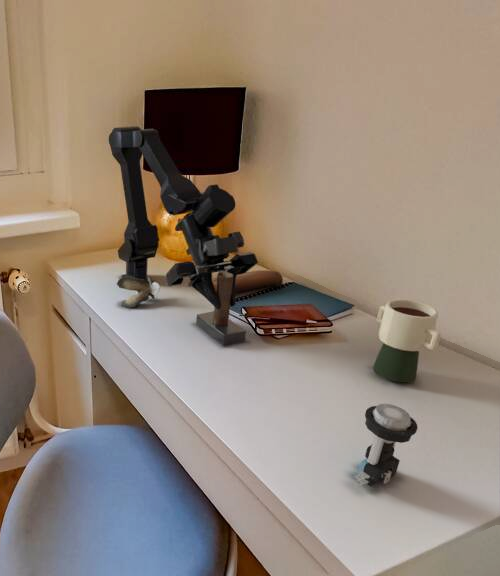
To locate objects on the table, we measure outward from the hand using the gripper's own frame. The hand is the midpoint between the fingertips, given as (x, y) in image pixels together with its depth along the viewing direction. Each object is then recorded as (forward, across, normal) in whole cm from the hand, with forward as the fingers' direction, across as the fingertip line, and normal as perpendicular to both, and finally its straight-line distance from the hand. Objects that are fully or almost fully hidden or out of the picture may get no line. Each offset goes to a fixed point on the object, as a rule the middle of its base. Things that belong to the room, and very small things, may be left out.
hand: (226, 307), depth 91 cm
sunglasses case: (-9, +19, +18) cm, 28 cm away
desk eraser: (+4, 0, +6) cm, 7 cm away
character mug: (+21, +19, -11) cm, 30 cm away
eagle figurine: (-11, -9, +20) cm, 24 cm away
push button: (+32, -4, -22) cm, 39 cm away
